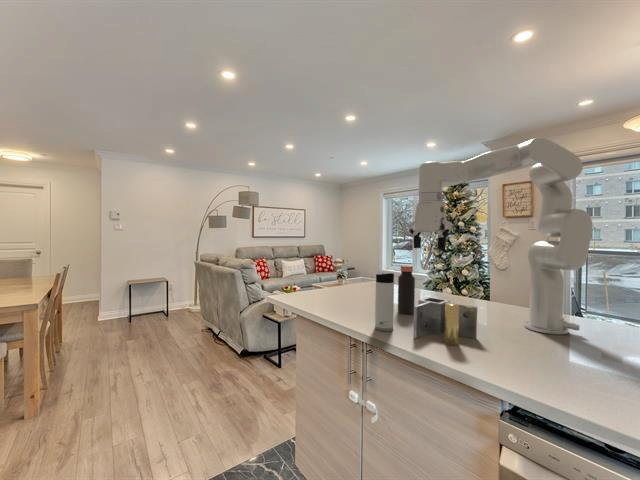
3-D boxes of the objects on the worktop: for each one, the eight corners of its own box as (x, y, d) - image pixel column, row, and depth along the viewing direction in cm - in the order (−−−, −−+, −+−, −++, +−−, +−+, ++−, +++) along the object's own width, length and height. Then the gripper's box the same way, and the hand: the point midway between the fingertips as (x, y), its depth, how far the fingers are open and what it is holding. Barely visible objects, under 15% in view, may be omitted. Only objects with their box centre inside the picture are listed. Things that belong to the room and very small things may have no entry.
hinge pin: (460, 343, 93) (461, 304, 93) (455, 346, 91) (456, 306, 90) (447, 340, 96) (448, 302, 96) (442, 343, 93) (442, 304, 93)
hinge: (480, 335, 101) (480, 305, 100) (459, 350, 88) (460, 315, 88) (428, 324, 113) (428, 296, 113) (403, 335, 100) (404, 304, 100)
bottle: (416, 315, 126) (417, 266, 126) (399, 314, 126) (400, 266, 126) (411, 310, 133) (412, 265, 132) (396, 310, 133) (396, 265, 132)
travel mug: (383, 333, 102) (384, 274, 102) (371, 327, 108) (372, 271, 108) (397, 330, 105) (398, 273, 105) (385, 325, 111) (386, 270, 111)
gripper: (460, 197, 99) (458, 250, 100) (416, 201, 113) (415, 247, 114) (446, 195, 95) (445, 250, 95) (402, 200, 109) (401, 247, 110)
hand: (428, 248), depth 105 cm, fingers open, 9 cm apart
